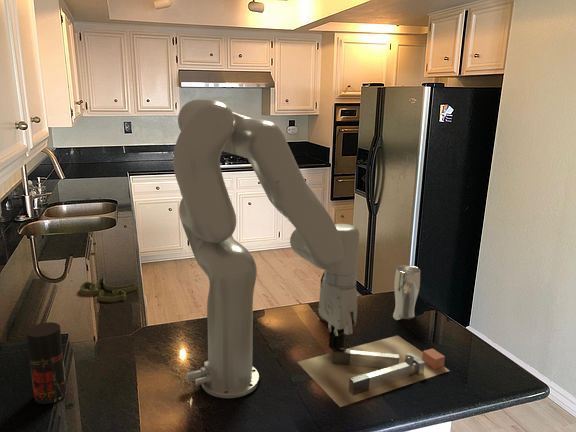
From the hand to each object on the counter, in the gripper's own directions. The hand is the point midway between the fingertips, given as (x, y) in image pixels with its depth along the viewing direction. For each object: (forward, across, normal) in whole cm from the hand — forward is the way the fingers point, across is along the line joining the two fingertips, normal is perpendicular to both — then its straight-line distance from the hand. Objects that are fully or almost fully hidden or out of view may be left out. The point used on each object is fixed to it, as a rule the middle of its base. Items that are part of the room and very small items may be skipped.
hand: (336, 347), depth 113 cm
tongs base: (+1, +15, +3) cm, 15 cm away
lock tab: (+1, +15, +17) cm, 23 cm away
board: (+2, +9, +4) cm, 10 cm away
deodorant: (+2, -12, -62) cm, 63 cm away
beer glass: (+2, -8, +29) cm, 30 cm away
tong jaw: (+1, +8, +3) cm, 9 cm away
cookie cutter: (+3, -62, -45) cm, 76 cm away
